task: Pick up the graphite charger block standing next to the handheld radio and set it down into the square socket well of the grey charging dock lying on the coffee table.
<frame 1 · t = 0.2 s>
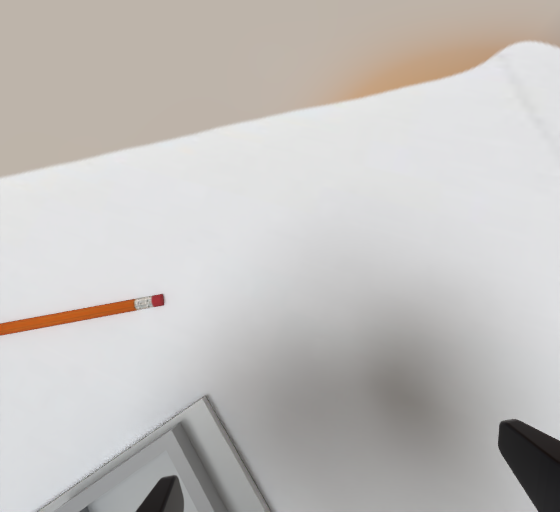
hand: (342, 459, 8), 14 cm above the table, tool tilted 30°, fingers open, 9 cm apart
pencil: (43, 322, 24), on the table
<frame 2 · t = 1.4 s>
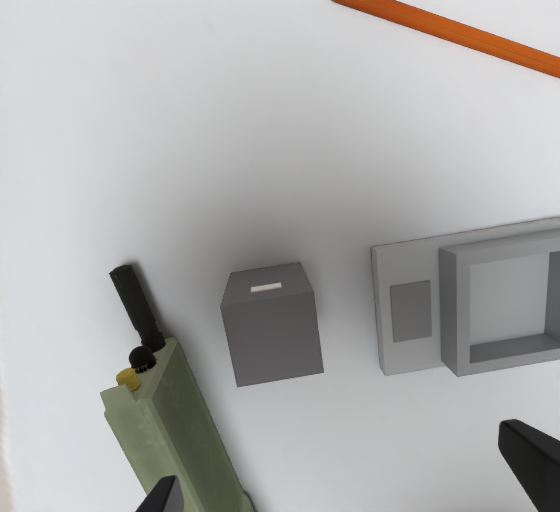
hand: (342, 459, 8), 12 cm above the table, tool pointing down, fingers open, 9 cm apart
grey charging dock: (474, 294, 21), on the table
charger block: (270, 299, 21), on the table
handheld radio: (198, 416, 23), on the table
pencil: (455, 39, 18), on the table
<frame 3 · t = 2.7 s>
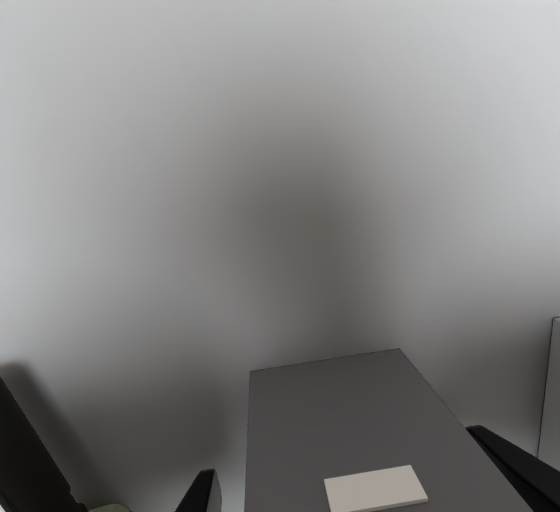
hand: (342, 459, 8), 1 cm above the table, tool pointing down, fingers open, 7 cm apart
charger block: (331, 420, 10), on the table
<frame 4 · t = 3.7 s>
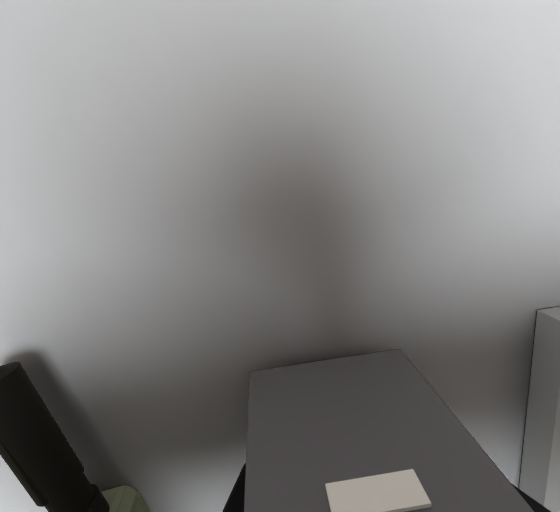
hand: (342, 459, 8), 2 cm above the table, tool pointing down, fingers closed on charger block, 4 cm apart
charger block: (331, 422, 10), point 1 cm above the table, touching gripper
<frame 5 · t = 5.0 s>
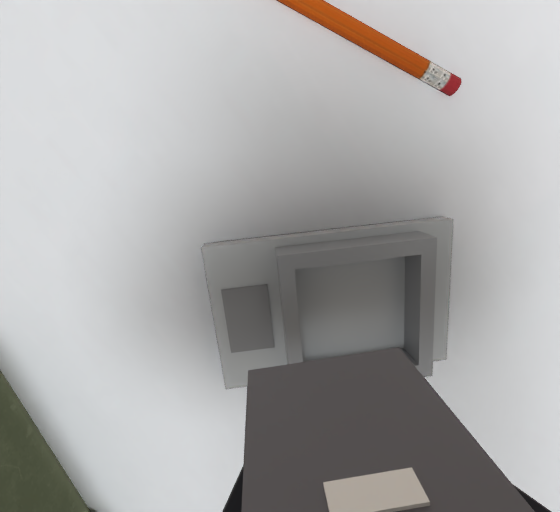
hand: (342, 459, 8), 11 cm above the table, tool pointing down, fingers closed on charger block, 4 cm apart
grey charging dock: (329, 301, 19), on the table
charger block: (330, 421, 10), point 10 cm above the table, touching gripper
handheld radio: (27, 428, 20), on the table
pencil: (291, 4, 15), on the table
when the fingers open (4 cm above the table, at t = 7.0 s): charger block drops 1 cm, resting on grey charging dock.
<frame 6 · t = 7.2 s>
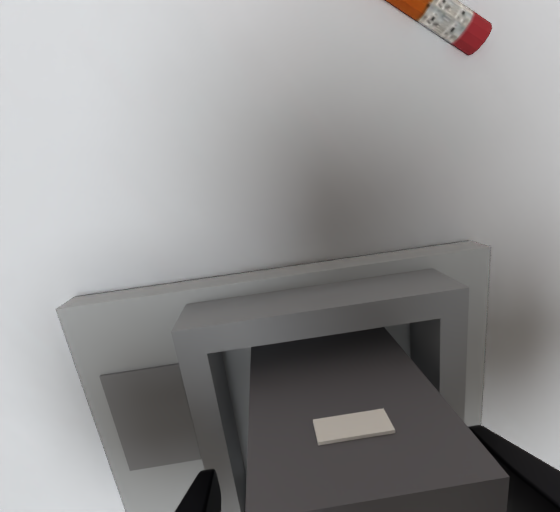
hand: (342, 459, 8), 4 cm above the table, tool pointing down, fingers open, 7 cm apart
grey charging dock: (291, 377, 12), on the table
charger block: (322, 390, 11), point 1 cm above the table, touching grey charging dock
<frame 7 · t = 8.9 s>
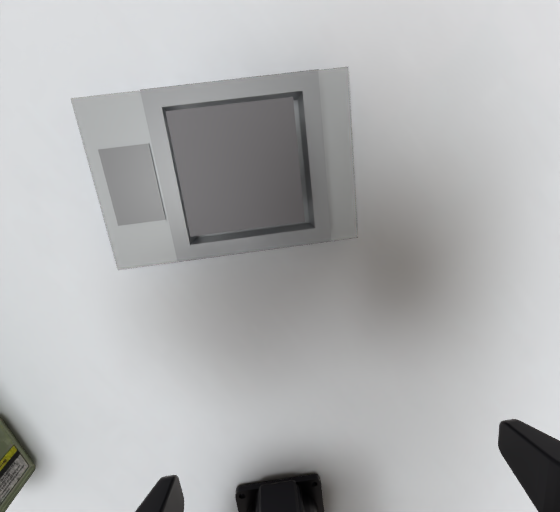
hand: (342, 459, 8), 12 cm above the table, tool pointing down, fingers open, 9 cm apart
grey charging dock: (228, 174, 18), on the table
charger block: (245, 170, 17), point 1 cm above the table, touching grey charging dock
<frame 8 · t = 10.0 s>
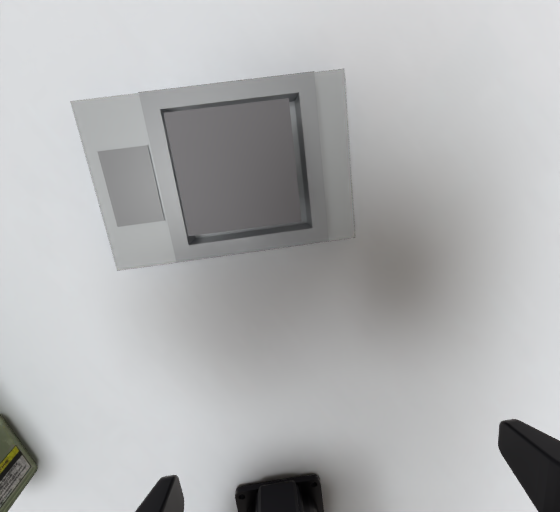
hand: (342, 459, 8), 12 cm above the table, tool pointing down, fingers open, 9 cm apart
grey charging dock: (226, 175, 18), on the table
charger block: (242, 172, 17), point 1 cm above the table, touching grey charging dock
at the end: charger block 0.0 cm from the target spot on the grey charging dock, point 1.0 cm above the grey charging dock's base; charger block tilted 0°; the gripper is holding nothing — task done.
